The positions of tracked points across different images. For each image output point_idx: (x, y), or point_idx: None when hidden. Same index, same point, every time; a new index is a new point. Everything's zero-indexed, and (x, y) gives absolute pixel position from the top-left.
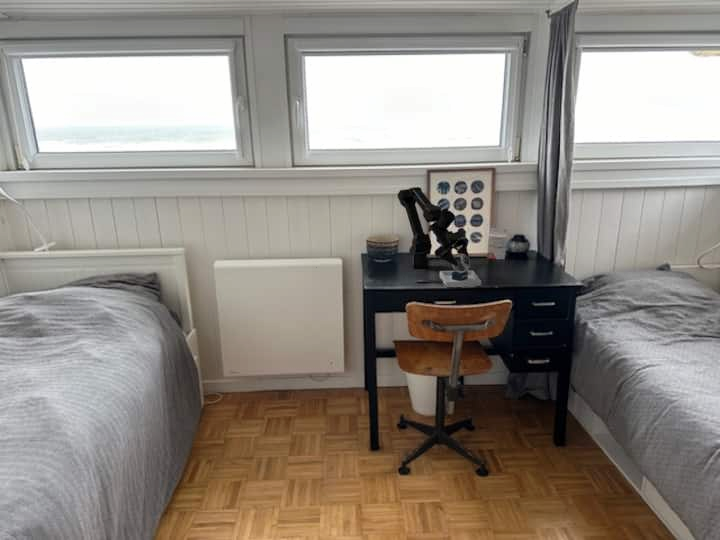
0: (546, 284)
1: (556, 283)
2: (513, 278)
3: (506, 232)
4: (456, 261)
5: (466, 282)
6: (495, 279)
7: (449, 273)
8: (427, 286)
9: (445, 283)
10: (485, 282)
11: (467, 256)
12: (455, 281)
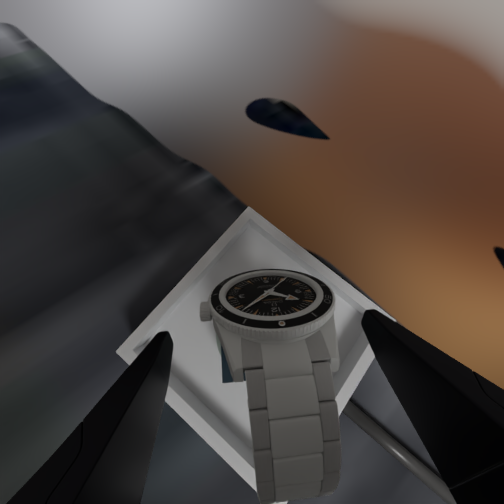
0: (49, 77)
1: (16, 61)
2: (48, 187)
3: None
4: (395, 333)
5: (305, 252)
6: (111, 232)
7: (236, 442)
8: None
9: None
10: (180, 239)
11: (228, 314)
12: (351, 290)
